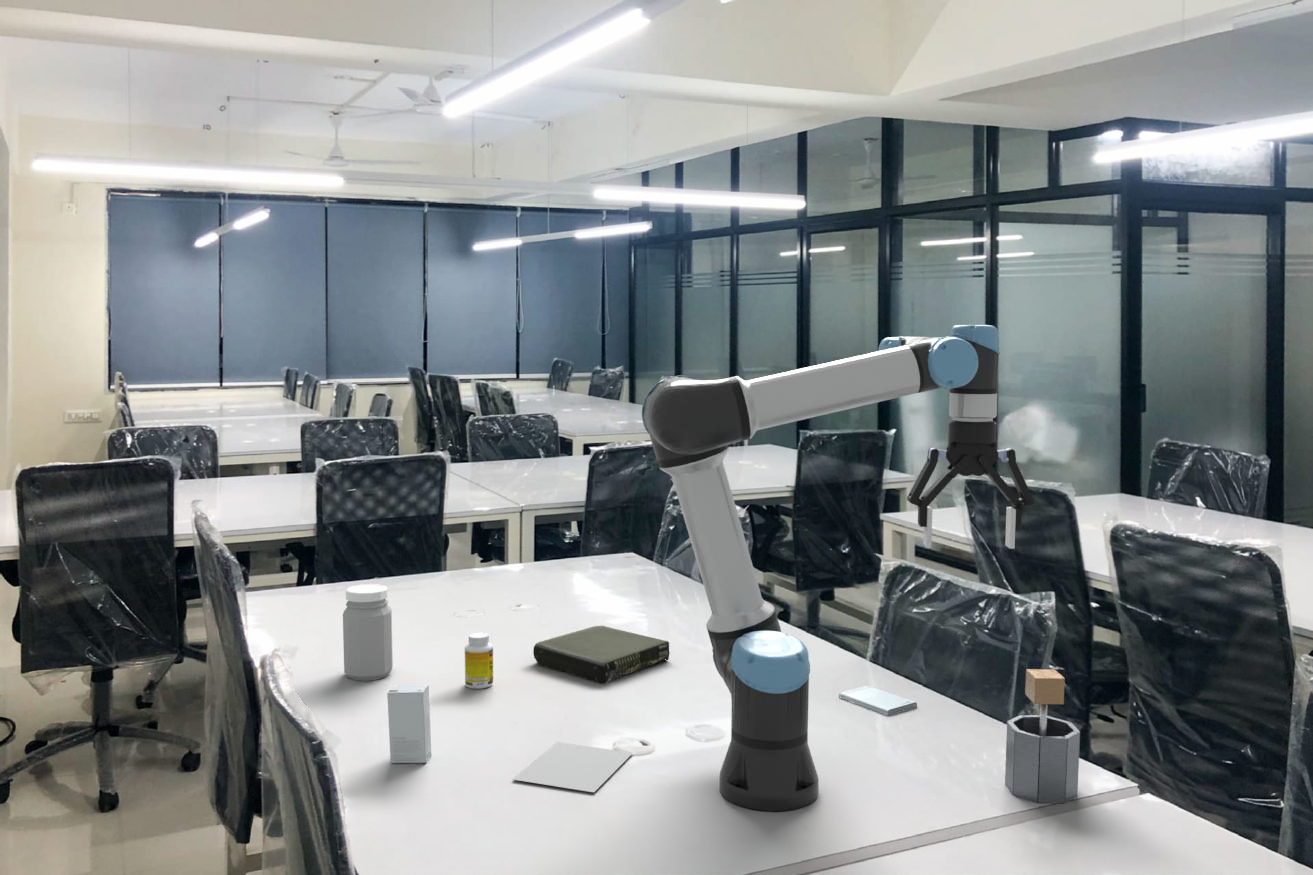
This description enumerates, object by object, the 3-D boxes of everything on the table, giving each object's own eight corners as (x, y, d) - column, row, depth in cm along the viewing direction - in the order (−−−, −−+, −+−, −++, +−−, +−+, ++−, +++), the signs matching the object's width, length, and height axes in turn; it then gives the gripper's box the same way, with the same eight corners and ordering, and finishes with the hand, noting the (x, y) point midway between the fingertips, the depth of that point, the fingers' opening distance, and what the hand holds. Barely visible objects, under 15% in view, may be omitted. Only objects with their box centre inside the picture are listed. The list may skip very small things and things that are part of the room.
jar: (333, 676, 220) (331, 589, 219) (371, 664, 228) (369, 580, 227) (365, 684, 215) (363, 596, 213) (403, 672, 223) (401, 586, 221)
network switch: (614, 689, 214) (614, 664, 214) (523, 669, 227) (522, 645, 226) (676, 660, 234) (676, 637, 233) (589, 642, 246) (589, 621, 246)
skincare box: (432, 754, 179) (430, 683, 178) (426, 764, 175) (424, 692, 174) (395, 753, 180) (393, 683, 178) (388, 764, 175) (386, 691, 174)
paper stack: (458, 774, 172) (458, 770, 172) (528, 722, 195) (528, 718, 195) (594, 796, 164) (594, 792, 164) (650, 739, 187) (650, 735, 187)
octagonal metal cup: (1018, 802, 162) (1020, 737, 161) (999, 775, 171) (1001, 714, 170) (1084, 803, 161) (1087, 738, 160) (1061, 776, 171) (1064, 715, 170)
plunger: (1026, 785, 163) (1030, 680, 161) (1013, 768, 170) (1016, 666, 168) (1070, 786, 163) (1074, 680, 161) (1055, 769, 169) (1059, 667, 168)
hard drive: (917, 701, 203) (868, 684, 213) (887, 710, 198) (838, 691, 208) (917, 710, 203) (868, 692, 213) (887, 719, 199) (838, 700, 209)
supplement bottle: (494, 688, 213) (493, 638, 212) (465, 690, 212) (465, 639, 211) (492, 679, 218) (491, 630, 217) (464, 681, 217) (463, 632, 216)
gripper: (1041, 417, 181) (1037, 542, 183) (891, 417, 181) (888, 541, 183) (1056, 421, 173) (1051, 551, 175) (900, 420, 174) (897, 550, 176)
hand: (968, 546), depth 179 cm, fingers open, 13 cm apart
